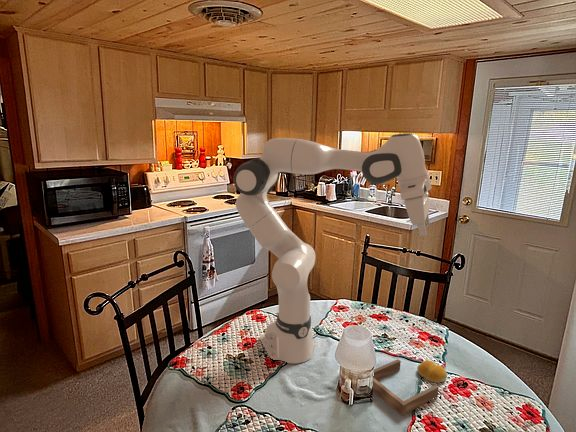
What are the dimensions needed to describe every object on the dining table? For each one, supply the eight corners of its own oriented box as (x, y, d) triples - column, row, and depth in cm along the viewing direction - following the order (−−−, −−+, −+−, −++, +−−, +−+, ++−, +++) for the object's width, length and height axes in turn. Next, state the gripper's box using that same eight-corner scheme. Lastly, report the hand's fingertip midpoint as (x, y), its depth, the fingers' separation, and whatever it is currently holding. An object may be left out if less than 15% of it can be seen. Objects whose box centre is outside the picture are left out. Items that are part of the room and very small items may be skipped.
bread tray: (363, 383, 126) (364, 373, 125) (397, 368, 133) (397, 359, 132) (402, 415, 112) (403, 405, 111) (437, 396, 120) (438, 387, 119)
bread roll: (438, 387, 124) (440, 376, 123) (413, 373, 131) (414, 363, 130) (451, 376, 130) (452, 366, 129) (426, 363, 136) (428, 353, 135)
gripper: (408, 182, 126) (418, 223, 129) (399, 195, 108) (410, 242, 111) (429, 178, 124) (438, 219, 126) (422, 190, 106) (433, 239, 108)
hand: (425, 230), depth 118 cm, fingers open, 8 cm apart
